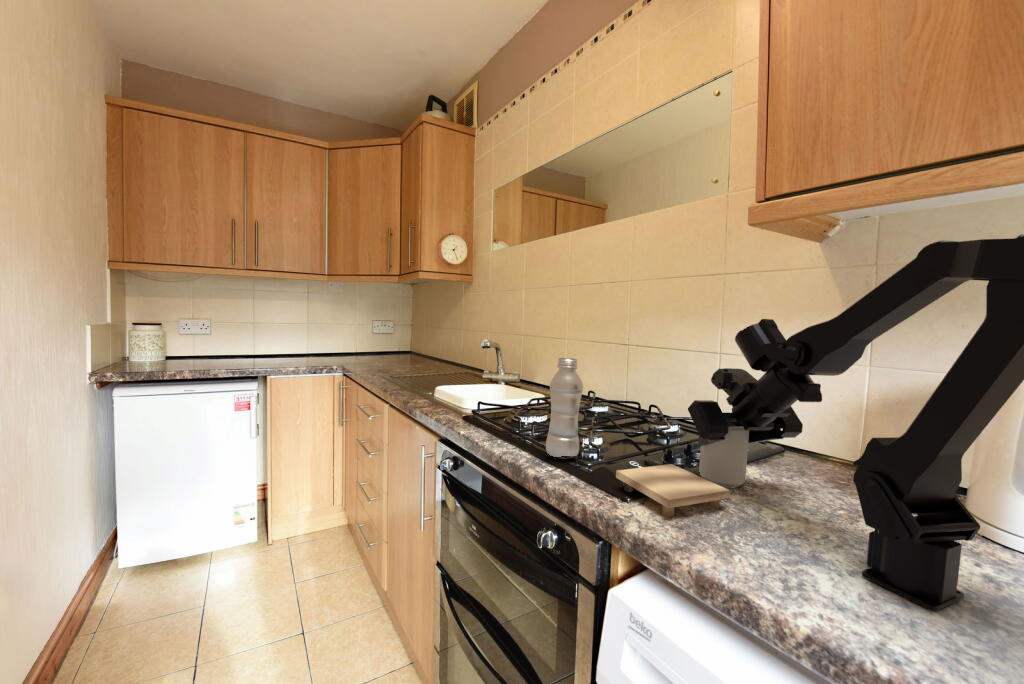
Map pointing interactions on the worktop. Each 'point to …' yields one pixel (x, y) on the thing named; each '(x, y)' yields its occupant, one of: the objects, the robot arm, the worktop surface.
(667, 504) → the small wooden stand
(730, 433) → the can
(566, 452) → the plastic bottle
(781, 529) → the worktop surface
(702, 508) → the worktop surface
